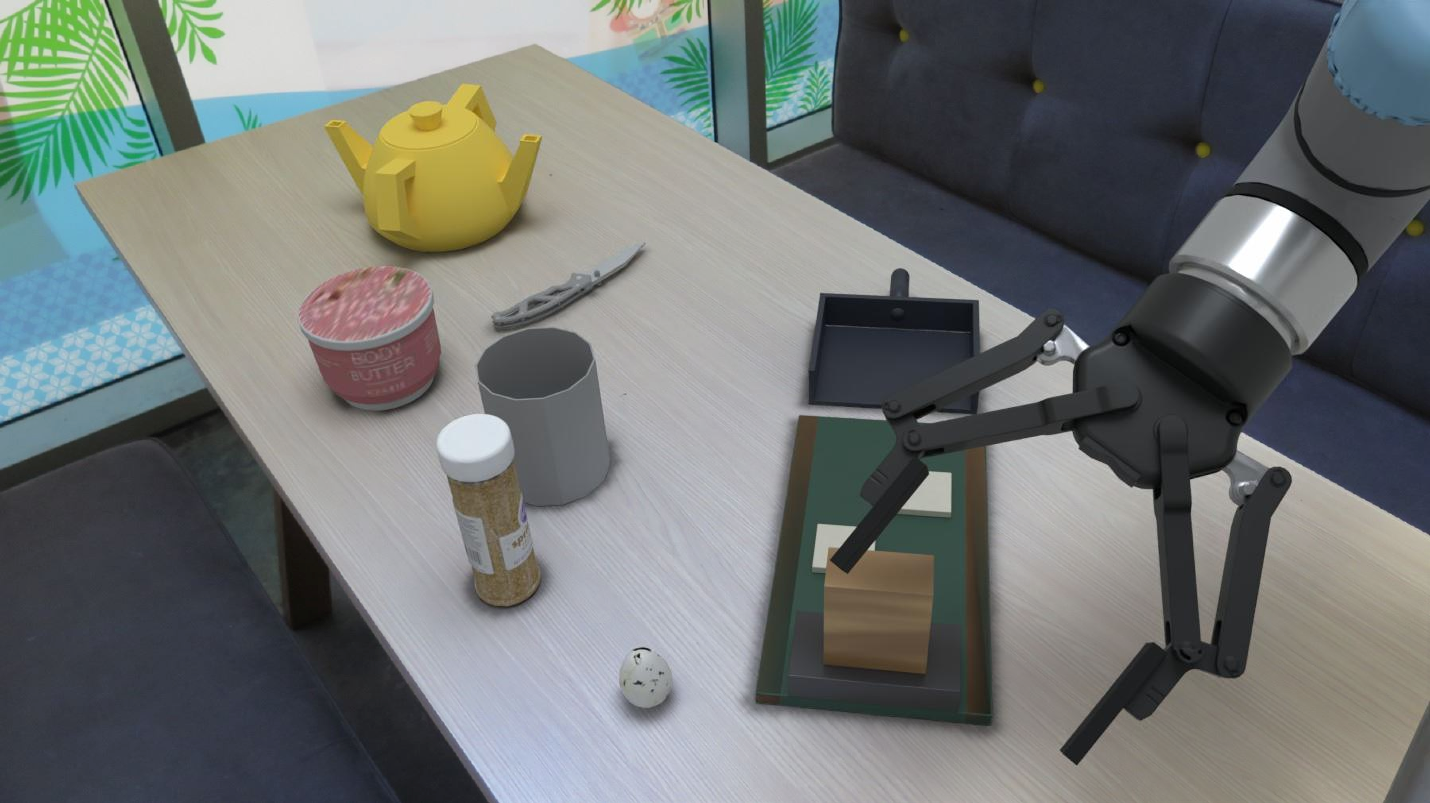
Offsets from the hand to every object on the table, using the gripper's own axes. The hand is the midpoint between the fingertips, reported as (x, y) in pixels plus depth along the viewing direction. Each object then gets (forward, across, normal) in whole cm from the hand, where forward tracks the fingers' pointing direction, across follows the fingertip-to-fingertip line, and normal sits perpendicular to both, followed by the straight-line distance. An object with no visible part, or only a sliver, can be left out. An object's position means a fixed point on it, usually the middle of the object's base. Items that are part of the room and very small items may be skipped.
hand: (948, 659), depth 57 cm
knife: (-3, +46, -39) cm, 61 cm away
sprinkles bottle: (+16, +26, -18) cm, 35 cm away
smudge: (-7, +9, -26) cm, 28 cm away
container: (+13, +49, -29) cm, 59 cm away
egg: (+14, +12, -14) cm, 23 cm away
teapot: (-1, +65, -45) cm, 79 cm away
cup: (+8, +32, -25) cm, 41 cm away
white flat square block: (-1, +10, -22) cm, 24 cm away
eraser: (+4, +3, -16) cm, 17 cm away
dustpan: (-17, +20, -38) cm, 46 cm away
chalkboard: (-2, +8, -23) cm, 25 cm away
